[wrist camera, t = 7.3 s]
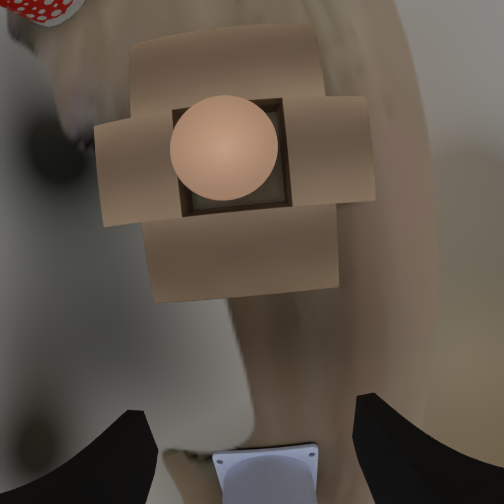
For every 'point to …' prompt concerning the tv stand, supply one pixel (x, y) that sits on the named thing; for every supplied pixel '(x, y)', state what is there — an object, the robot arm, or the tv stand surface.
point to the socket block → (241, 217)
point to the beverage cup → (44, 10)
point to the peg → (223, 147)
